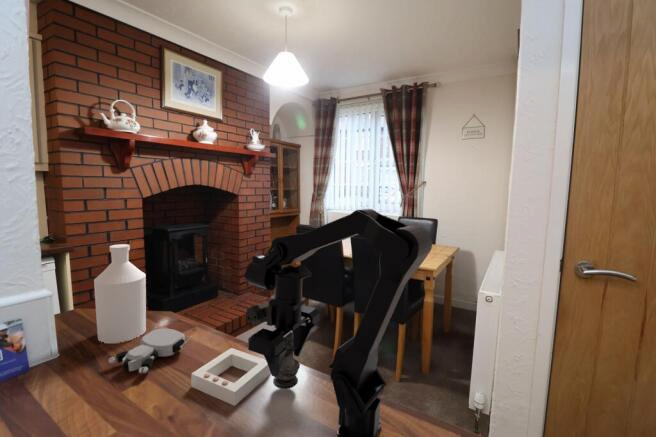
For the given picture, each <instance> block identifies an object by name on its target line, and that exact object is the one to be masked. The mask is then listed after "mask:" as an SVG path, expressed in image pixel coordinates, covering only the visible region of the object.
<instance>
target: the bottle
mask: <svg viewBox="0 0 656 437" xmlns="http://www.w3.org/2000/svg"><path fill="white" fill-rule="evenodd" d="M130 248H131V245H130V244H126V243H123V244H122V243H120V244H113V245H110V246H109V252H110V254H111V262H110V264H108V266H107V267H106V268H105V269H104V270H103V271H102V272H101V273H100V274H99V275H97V276H96V277H95V278H94V280H93V286H94V300H95V313H96V314H95V315H96V329H97V330H96V332H97V340H98V341H99V342H100V341H101V342H100V343H102V342H104V343H103V344H121V343H126V342H129V341H132V340H135V339H137V338H139V337H141V336H142V335H143V334H144V333H145V332H146V331H147V311H146V310H147V308H146V307H147V306H146V304H147V298H146V297H147V294H146V292H147V289H146V288H147V286H146V284H147V281H146V280H147V278H146V277H147V276H146V273H145V272H143V271H142V270H140V269H139V268H138V267H137V266H135V265H134V264H133V263H132V262H130V261H129V257H130V256H129V253H130V252H129V251H131V249H130ZM140 335H141V336H140ZM136 337H137V338H136ZM134 338H135V339H134ZM125 341H126V342H125ZM120 342H121V343H120Z"/></svg>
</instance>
